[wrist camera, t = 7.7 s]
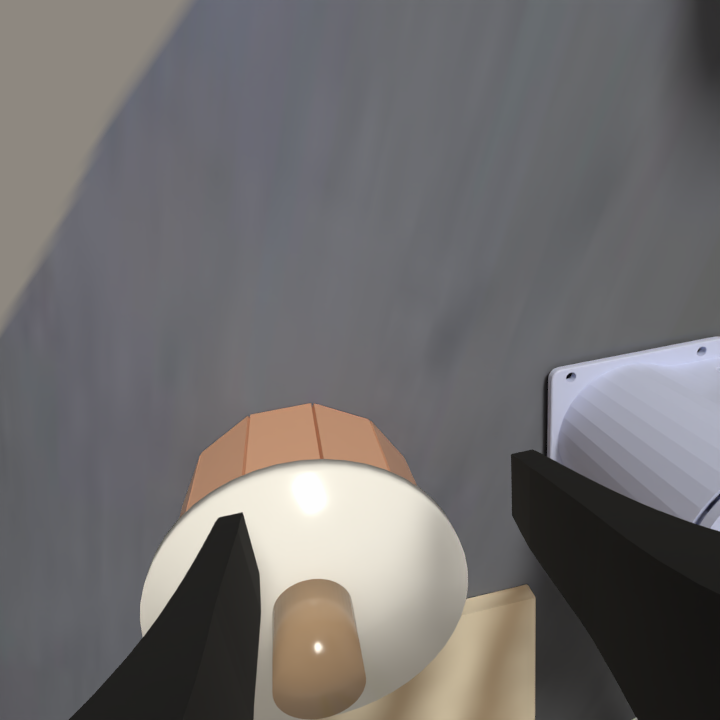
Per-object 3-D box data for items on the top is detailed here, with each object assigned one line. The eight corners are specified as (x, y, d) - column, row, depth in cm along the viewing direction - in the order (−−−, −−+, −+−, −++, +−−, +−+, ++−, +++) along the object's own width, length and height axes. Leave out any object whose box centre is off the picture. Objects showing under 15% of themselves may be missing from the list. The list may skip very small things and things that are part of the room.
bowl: (396, 386, 23) (427, 439, 19) (417, 563, 28) (445, 643, 23) (159, 432, 22) (129, 501, 18) (217, 610, 26) (206, 703, 22)
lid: (500, 477, 20) (552, 547, 16) (416, 703, 24) (443, 799, 20) (161, 439, 17) (131, 514, 13) (132, 705, 21) (102, 818, 17)
